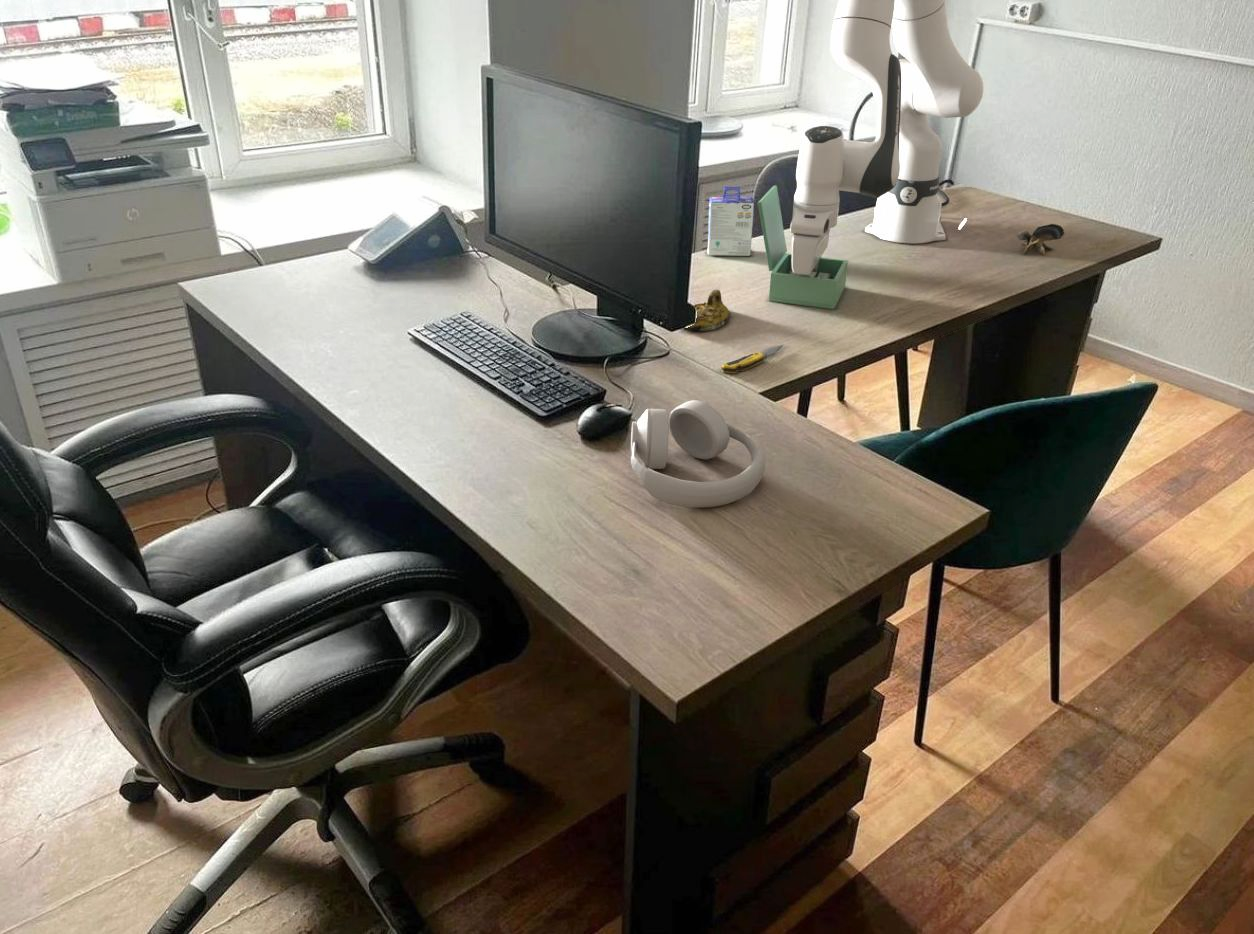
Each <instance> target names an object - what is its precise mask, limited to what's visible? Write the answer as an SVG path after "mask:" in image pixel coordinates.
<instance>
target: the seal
mask: <svg viewBox="0 0 1254 934" xmlns="http://www.w3.org/2000/svg"><path fill="white" fill-rule="evenodd" d="M692 306H694V307H695V308H696V311H697V318H696V322H695V324H694V325H692V326H690V327H688V328H684V329H682V330H684V331H699V332H708V331H713V330H716V329H719V328H721V327H723V326H724V325H725V324H726V323H727V322H728V321H729V319H730V315H731V314H730V313H731V312H730V310H729V309H728V307H727V306H726V305H725V304H724V303H723V301H722V293H721V290H720V289H713V290H712V291H710V292H709V294H708V297H707V302H706V301H704V302H702V303H696V304H693V305H692Z"/></svg>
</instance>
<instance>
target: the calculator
mask: <svg viewBox="0 0 1254 934" xmlns="http://www.w3.org/2000/svg"><path fill="white" fill-rule="evenodd" d="M788 274H792V275H800V274H796V273H793V270H792V269H791V270H790V271H789V273H788ZM811 277H817V278H826V279H832V274H828V273H820V272H811Z"/></svg>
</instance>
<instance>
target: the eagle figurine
mask: <svg viewBox="0 0 1254 934" xmlns="http://www.w3.org/2000/svg"><path fill="white" fill-rule="evenodd" d="M1064 235H1065V230H1064V229H1063V227H1062V225H1059V224H1056V223H1050V224H1045V225H1041V226H1038V227H1036V229H1035V230H1034V231H1033V232H1032V234H1030V232H1029V231H1028V230H1021V231H1019V232H1018V233H1017V235H1016V236H1017V237H1016V238H1017V239H1018V240H1019V241H1024V243H1023V242H1022V243H1021V244H1020V246H1023V247H1024V250H1023V255H1026V254H1027V253H1029V252H1030V251H1031V248H1032V247H1033V248H1034V249H1036V250H1038V251H1039V252H1041V253H1042V255H1043V256H1045V254H1046V253H1045V252H1046V251H1045V250H1046V249H1049V250H1053V249H1052V248H1051V247H1049V246H1048V245H1047V244H1046V243H1045V241H1046V242H1049V241H1052V240H1054V241H1056V240H1061V239H1062V237H1064Z"/></svg>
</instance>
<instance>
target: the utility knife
mask: <svg viewBox="0 0 1254 934" xmlns="http://www.w3.org/2000/svg"><path fill="white" fill-rule="evenodd" d="M782 347H784V344H778V345H773V346H770V347H767V348H766V349H763V350H761V351H755V352H752V353H750V354H749V355H745V356H742V357H740V358H738V359H735V360H732V361H728V362H726V363H723V364H722V365H721V372H722V373H725V374H736V373H737V372H742V371H746V370H749V369H752V368H753V367H755V366H757V365H760V364H761V363H763V362H764V361H765V360H767V359H768V358H769V357H771V356H774V355H775V354H777V352H778V351H779V350H780V349H781V348H782Z"/></svg>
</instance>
